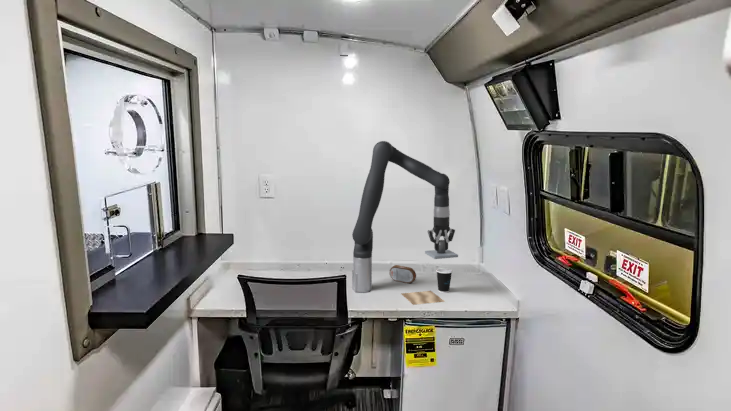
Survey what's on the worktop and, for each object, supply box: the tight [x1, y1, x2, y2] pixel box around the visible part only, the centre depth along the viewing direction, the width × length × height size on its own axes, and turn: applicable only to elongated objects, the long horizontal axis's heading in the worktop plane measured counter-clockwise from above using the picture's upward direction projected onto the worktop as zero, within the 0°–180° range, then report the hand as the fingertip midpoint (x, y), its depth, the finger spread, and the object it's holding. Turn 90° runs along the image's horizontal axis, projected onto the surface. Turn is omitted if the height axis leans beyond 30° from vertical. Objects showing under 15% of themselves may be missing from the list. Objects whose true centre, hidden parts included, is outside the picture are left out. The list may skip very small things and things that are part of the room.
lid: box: [424, 239, 459, 260], centre depth 226 cm, size 12×12×7 cm
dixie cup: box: [435, 267, 453, 294], centre depth 231 cm, size 8×8×11 cm
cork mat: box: [400, 290, 446, 306], centre depth 222 cm, size 16×16×1 cm
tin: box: [389, 264, 417, 284], centre depth 247 cm, size 15×3×8 cm, turn 58°
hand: (441, 250), depth 226 cm, fingers closed on lid, 4 cm apart
